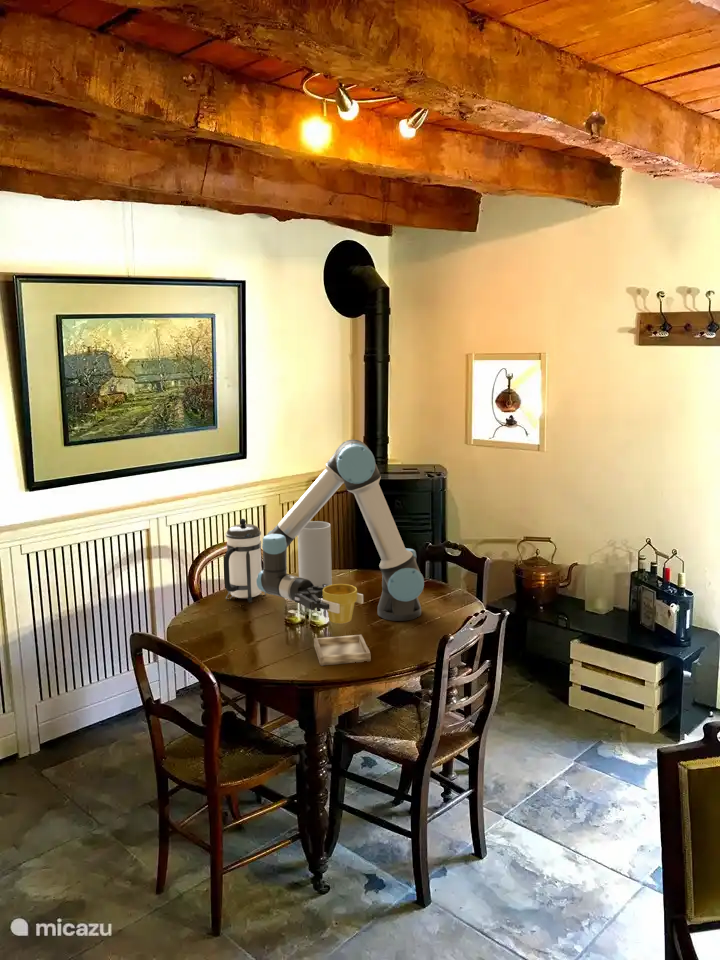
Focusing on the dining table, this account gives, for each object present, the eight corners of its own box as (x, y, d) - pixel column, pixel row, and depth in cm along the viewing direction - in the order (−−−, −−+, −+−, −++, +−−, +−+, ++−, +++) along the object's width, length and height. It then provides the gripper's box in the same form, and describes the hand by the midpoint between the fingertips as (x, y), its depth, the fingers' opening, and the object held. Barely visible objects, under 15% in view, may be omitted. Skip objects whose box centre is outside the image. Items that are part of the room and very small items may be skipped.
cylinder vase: (331, 582, 304) (330, 520, 299) (332, 593, 292) (330, 528, 287) (299, 583, 303) (297, 521, 299) (299, 594, 291) (297, 529, 286)
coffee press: (220, 593, 293) (217, 516, 287) (262, 589, 297) (260, 513, 292) (226, 608, 276) (222, 526, 271) (270, 603, 281) (267, 523, 275)
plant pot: (327, 627, 227) (326, 595, 225) (319, 615, 237) (319, 585, 235) (361, 624, 230) (361, 592, 228) (352, 612, 240) (352, 582, 238)
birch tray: (361, 642, 244) (361, 634, 243) (370, 661, 229) (370, 653, 229) (314, 646, 241) (313, 638, 241) (320, 665, 227) (320, 657, 226)
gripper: (321, 591, 253) (374, 605, 239) (271, 610, 236) (325, 626, 222) (321, 569, 252) (374, 582, 238) (270, 586, 234) (324, 601, 220)
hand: (350, 603), depth 230 cm, fingers closed on plant pot, 10 cm apart
